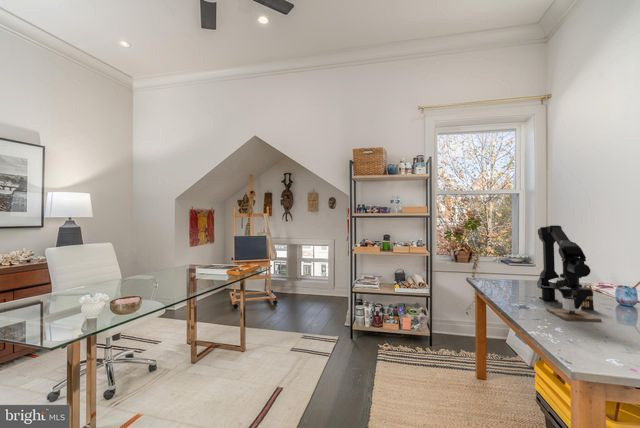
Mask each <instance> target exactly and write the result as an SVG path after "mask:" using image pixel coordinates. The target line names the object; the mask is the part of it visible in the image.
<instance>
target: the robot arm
mask: <svg viewBox="0 0 640 428" xmlns="http://www.w3.org/2000/svg"><path fill="white" fill-rule="evenodd" d="M537 235H538V237H539V240H540V241H541V242H542V255H543V256H542V257H543V259H542V260H543V262H542V263H543V270H542V271H541V272H540V273H539V278H538V280H537V282H536V285H537V288H539V289H540V290H541V296H538V298H539V299H541V300H542V301H545V302H559V300H558V299H557V298H556V290H558V291H559V292H560V294H561V296H562V297H563V296H570V297H571V295H572V296H573V298H574V305H575V308H576V309H579V307H580V306H581V304H582V303H583V304H584V300H585V299H586V298H587V297H589V296H593V297H594V291H593V289H592V290H591V289H589V287H588V288H584V286H583V285H582V284H581V283H580V279H582V278H585V277H588V276H589V275H591V269H590V267H589V265H587V264H585V262H587V259H586V258H587V257H586V255H585V253H584V251H583V249H582V248H581V247H580V246H579V245H578V243H576V242H574V241H571V239H569V237H568V236H567V234H566V233H565V231H563V227H562V225H558V224H557V225H553V224H552V225H550V224H549V225H547V226H540V228H538V229H537ZM555 242H556V244H557V246H558V250H557V251H558V254H559V256H560V258H561V262H562V273H560V274H558V273H557V272H556V271H555V267H556V266H555ZM572 293H573V294H572Z"/></svg>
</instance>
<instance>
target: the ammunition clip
mask: <svg viewBox="0 0 640 428" xmlns="http://www.w3.org/2000/svg"><path fill="white" fill-rule="evenodd" d="M583 288H587V284H584V285H583ZM588 289H591V290H592V291H593V288H592V285H591V284H589V287H588ZM572 294H573V293H572ZM571 297H573V296H572V295H571ZM581 310H588V311H595V307H594V295H593V296H589V297H587V298H586V299H585V300H584V301H583V303H582V304H581Z"/></svg>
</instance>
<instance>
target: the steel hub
mask: <svg viewBox="0 0 640 428" xmlns="http://www.w3.org/2000/svg"><path fill="white" fill-rule="evenodd" d="M561 300H562V301H561V302H562V309H565V310H569V311H581V310H582V309H581V306H580V307H579V309H576V308H575V305H574V298H573V297H570V296H562V299H561Z"/></svg>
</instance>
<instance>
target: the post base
mask: <svg viewBox="0 0 640 428" xmlns="http://www.w3.org/2000/svg"><path fill="white" fill-rule="evenodd" d="M545 309H546V310H545V311H546V312H549V313H551V314H553V315H554V316H556V317H558V318H559V319H561V320H564V321H570V322H573V321H576V322H596V323H597V322H599V323H600V322H602V321H603V320H602V319H601V318H600V317H597V316H596V315H593V314H592V313H589V312H586V311H584V310H583V309H581V311H569V310H565V309H563V308H558V307H557V308H555V307H553V308H550V307H546V308H545Z"/></svg>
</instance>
